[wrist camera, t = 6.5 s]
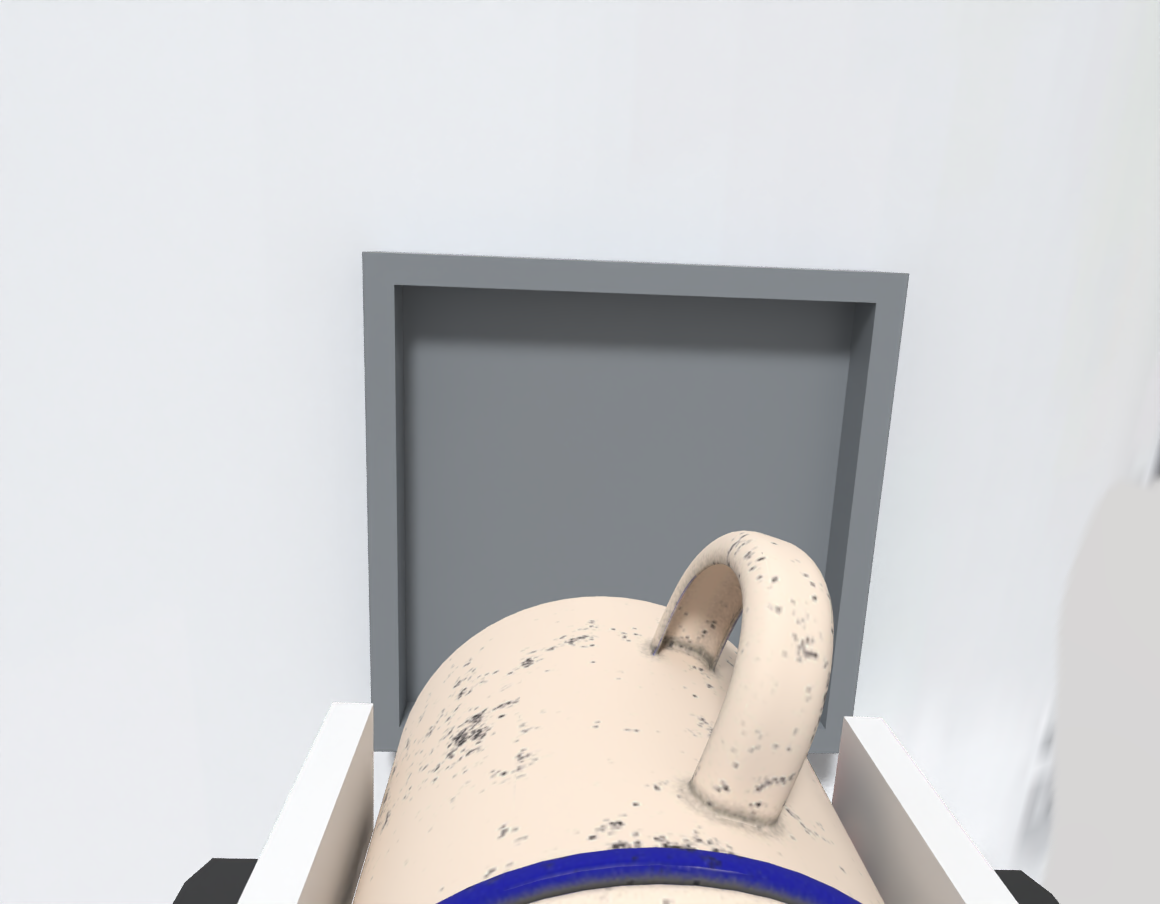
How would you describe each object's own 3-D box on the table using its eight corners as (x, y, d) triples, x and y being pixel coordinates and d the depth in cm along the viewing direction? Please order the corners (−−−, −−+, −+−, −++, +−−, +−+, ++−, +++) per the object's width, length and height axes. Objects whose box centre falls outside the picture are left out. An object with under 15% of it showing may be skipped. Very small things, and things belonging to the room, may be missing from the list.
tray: (384, 713, 34) (372, 751, 31) (376, 251, 30) (362, 251, 27) (825, 716, 35) (848, 753, 32) (878, 271, 31) (909, 273, 28)
